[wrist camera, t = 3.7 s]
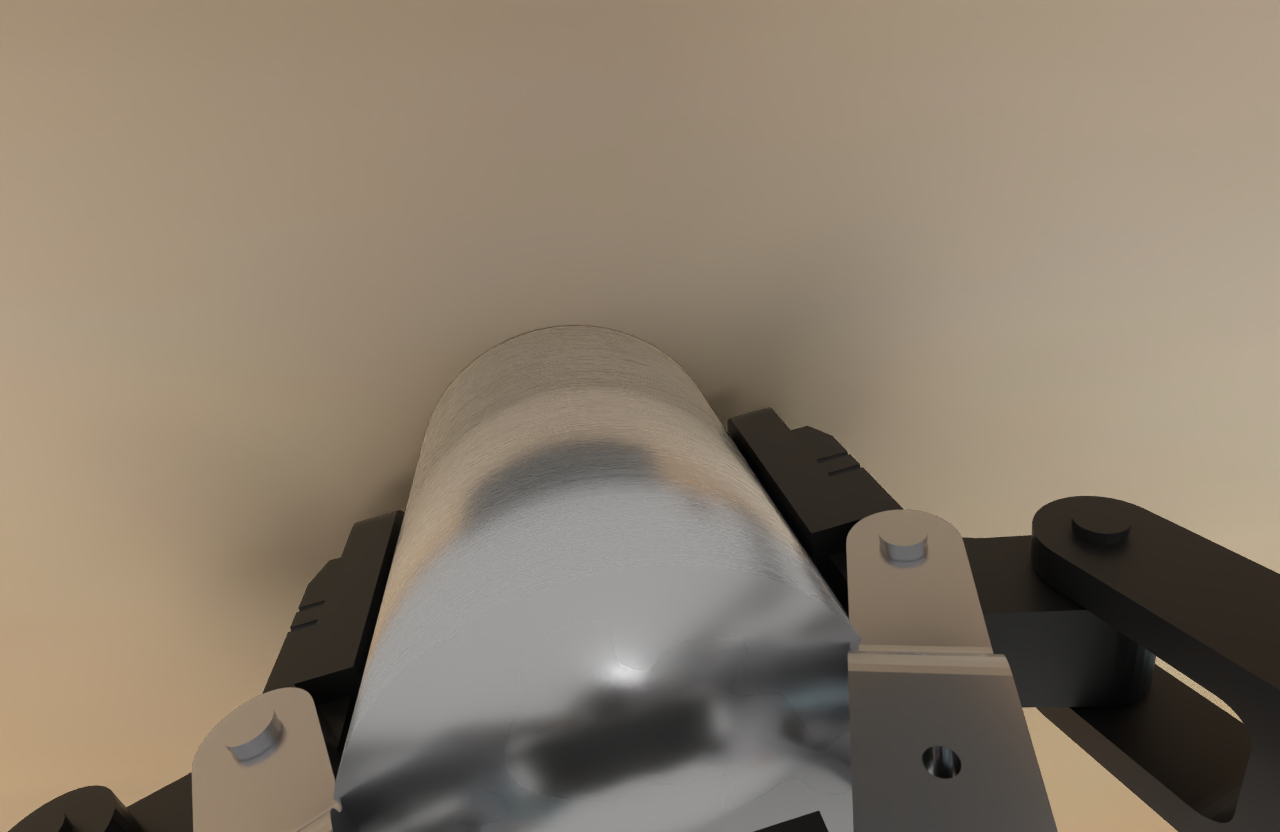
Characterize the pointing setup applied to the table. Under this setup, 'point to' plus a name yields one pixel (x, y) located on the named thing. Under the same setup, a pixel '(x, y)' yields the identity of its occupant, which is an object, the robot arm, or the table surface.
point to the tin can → (596, 617)
